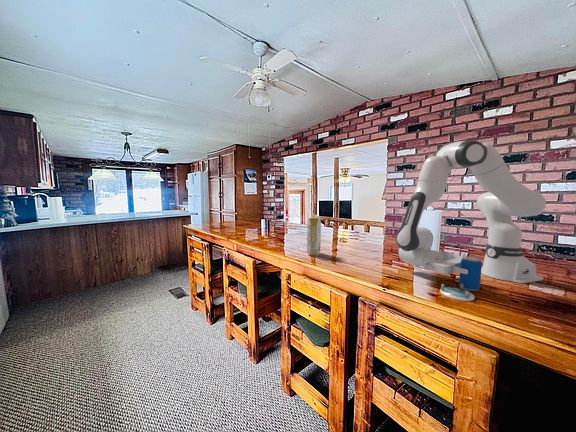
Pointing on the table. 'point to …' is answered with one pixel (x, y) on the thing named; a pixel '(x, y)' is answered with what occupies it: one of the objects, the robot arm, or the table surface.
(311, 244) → the juice carton
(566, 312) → the table surface
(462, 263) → the beverage can
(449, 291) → the pin cradle
